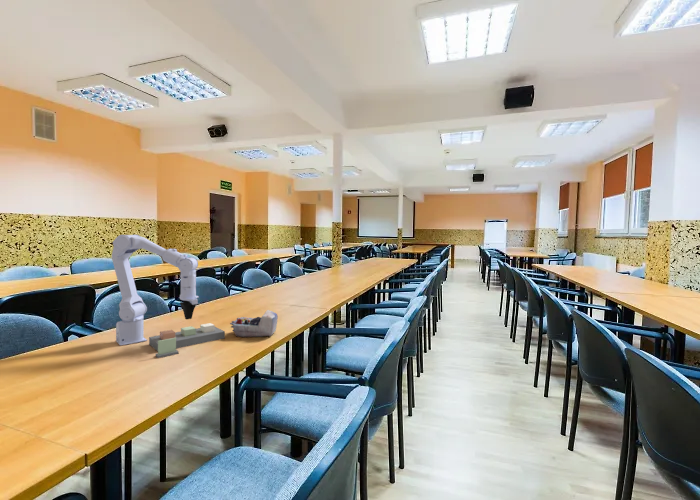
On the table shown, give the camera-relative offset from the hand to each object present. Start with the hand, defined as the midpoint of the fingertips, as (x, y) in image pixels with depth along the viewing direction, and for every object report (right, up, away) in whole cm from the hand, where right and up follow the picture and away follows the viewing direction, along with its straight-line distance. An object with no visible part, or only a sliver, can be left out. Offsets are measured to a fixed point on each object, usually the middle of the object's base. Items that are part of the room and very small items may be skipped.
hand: (188, 318), depth 142 cm
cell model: (+24, -10, +12) cm, 29 cm away
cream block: (+5, -8, +6) cm, 11 cm away
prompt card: (-1, -10, -15) cm, 19 cm away
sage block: (0, -8, 0) cm, 8 cm away
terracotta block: (-6, -8, -5) cm, 11 cm away
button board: (0, -10, 0) cm, 10 cm away
